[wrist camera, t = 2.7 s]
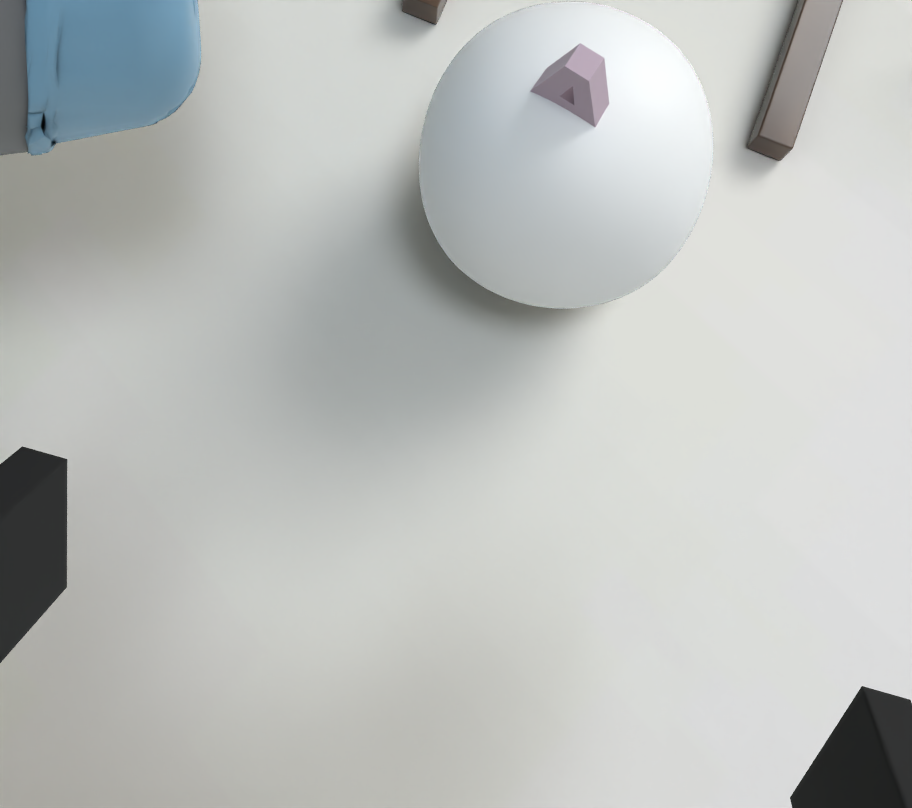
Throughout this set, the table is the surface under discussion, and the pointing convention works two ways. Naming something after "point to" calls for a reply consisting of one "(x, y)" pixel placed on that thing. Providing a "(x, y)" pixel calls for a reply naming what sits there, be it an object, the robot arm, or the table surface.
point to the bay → (788, 78)
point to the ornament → (566, 155)
